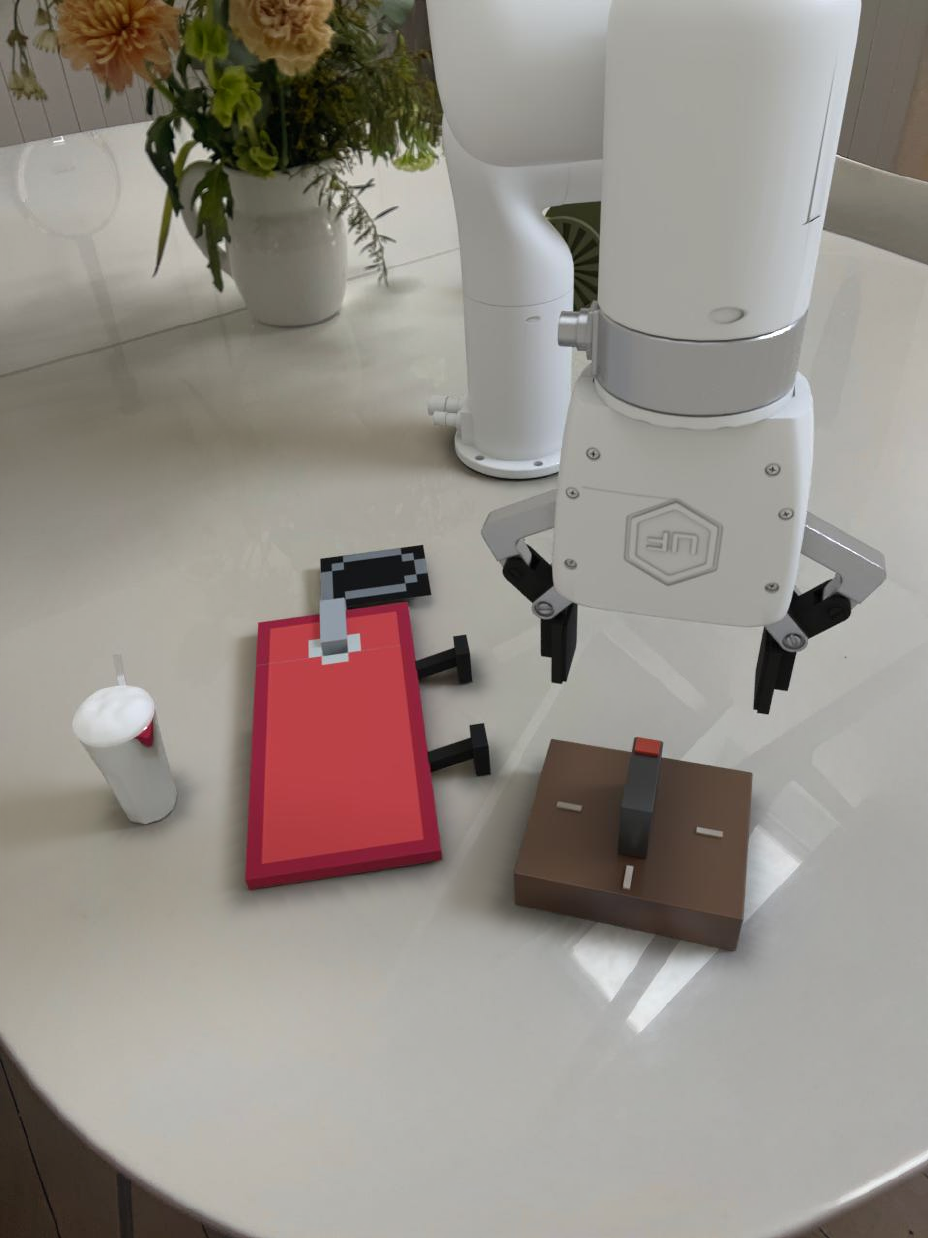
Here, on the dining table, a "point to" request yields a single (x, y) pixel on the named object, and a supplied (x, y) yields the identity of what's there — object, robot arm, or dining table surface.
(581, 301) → the cannon
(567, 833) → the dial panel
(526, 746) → the dining table surface
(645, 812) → the box with red button
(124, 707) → the milkshake
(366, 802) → the red board with handle
